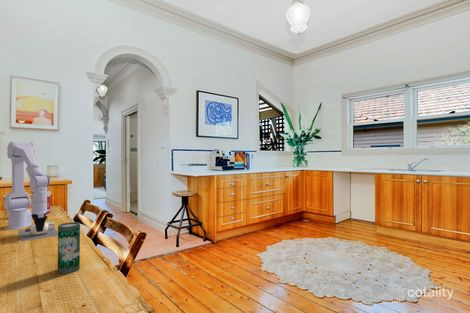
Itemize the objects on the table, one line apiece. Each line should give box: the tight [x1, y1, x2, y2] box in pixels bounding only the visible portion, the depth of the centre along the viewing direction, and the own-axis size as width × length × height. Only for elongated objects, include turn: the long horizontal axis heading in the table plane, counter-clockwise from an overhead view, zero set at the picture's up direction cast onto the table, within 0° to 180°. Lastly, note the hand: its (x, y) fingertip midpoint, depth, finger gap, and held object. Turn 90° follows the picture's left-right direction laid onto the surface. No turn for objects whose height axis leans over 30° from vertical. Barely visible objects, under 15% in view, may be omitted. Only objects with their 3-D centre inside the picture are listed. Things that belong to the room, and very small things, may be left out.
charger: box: [45, 221, 55, 230], centre depth 134 cm, size 5×5×3 cm
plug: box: [24, 222, 53, 235], centre depth 125 cm, size 10×4×4 cm, turn 131°
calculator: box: [46, 189, 51, 215], centre depth 167 cm, size 11×4×15 cm, turn 179°
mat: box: [18, 227, 58, 242], centre depth 127 cm, size 20×14×1 cm
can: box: [57, 221, 81, 275], centre depth 89 cm, size 6×6×15 cm
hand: (39, 230), depth 125 cm, fingers closed on plug, 4 cm apart
